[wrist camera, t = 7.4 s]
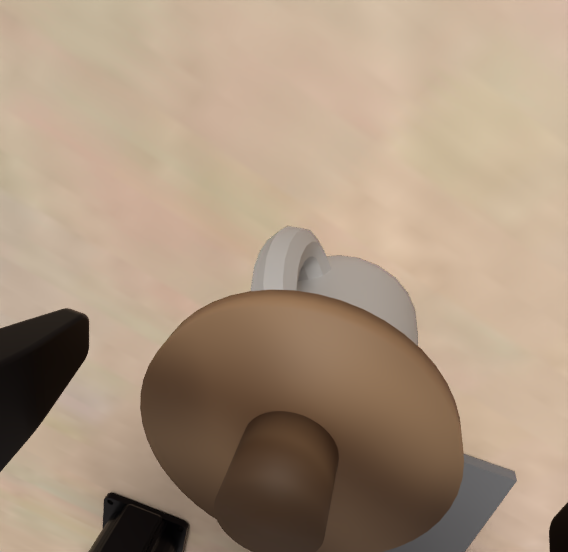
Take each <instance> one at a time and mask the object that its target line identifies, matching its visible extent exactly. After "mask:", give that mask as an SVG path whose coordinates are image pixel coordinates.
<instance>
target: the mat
mask: <svg viewBox="0 0 568 552" xmlns="http://www.w3.org/2000/svg"><path fill="white" fill-rule="evenodd" d="M516 481H517V479H516V475H515V472H514V471H511V470H509V469H506V468H503V467H500V466H497V465H494V464H491V463H489V462H486V461H483V460H480V459H477V458H474V457H471V456H469V455H466V454H464V468H463V478H462V482H461V485H460V488H459V491H458V495H457V496H456V498H455V500H454V502H453V504H452V506H451V507H450V509H449V510H448V511H447V513H446V514H445V515H444V516H443V518H442V519H441V520H440V521H439V522H438V523H437V524H436V525H434V526H433V527H432V528H431V529H430V530H429V531H427V532H426V533H424V534H423V535H421V536H420V537H418V538H416V539H415V540H413V541H411V542H408V543H406V544H404V545H402V546H400V547H397V548H393V549H390V550H387V551H384V552H465V551H466V549H467V548H468V547H469V545H470V544H471V543H472V541H473V540H474V539H475V537H476V536H477V534H478V533H479V532H480V530H481V529H482V528H483V526H484V525H485V524H486V522H487V521H488V519H489V518H490V517H491V515H492V514H493V513H494V511H495V510H496V509H497V507H498V506H499V504H500V503H501V502H502V500H503V499H504V498H505V496H506V495H507V494H508V492H509V491H510V489H511V488H512V487H513V485H514V484H515V483H516Z"/></svg>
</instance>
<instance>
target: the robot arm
mask: <svg viewBox="0 0 568 552" xmlns="http://www.w3.org/2000/svg"><path fill="white" fill-rule="evenodd" d="M88 350H89V319H88V317H87V315H85V314H83V313H81V312H78V311H75V310H72V309H68V308H65V309H61V310H58V311H54V312H51V313H48V314H45V315H42V316H38V317H35V318H32V319H29V320H25V321H22V322H19V323H16V324H13V325H9V326H6V327H3V328H0V472H1V471H2V469H3V468H4V467H5V466H6V465H7V464H8V462H9V461H10V460H11V459H12V458H13V456H14V455H15V454H16V453H17V452H18V451H19V449H20V448H21V447H22V446H23V445H24V444H25V442H26V441H27V440H28V439H29V438H30V436H31V435H32V434H33V433H34V432H35V430H36V429H37V428H38V427H39V425H40V424H41V422H42V421H43V420H44V418H45V417H46V416H47V414H48V413H49V411H50V410H51V408H52V407H53V405H54V404H55V402H56V401H57V400H58V398H59V397H60V395H61V394H62V392H63V391H64V389H65V388H66V386H67V385H68V384H69V382H70V381H71V379H72V378H73V376H74V375H75V373H76V372H77V370H78V369H79V368H80V366H81V365H82V363H83V362H84V360H85V358H86V356H87V354H88ZM187 532H188V524H187V523H186V522H185V521H183V520H180V519H178V518H175V517H173V516H170V515H167V514H165V513H162V512H160V511H157V510H155V509H152V508H149V507H147V506H144V505H142V504H139V503H137V502H134V501H131V500H129V499H126V498H124V497H121V496H119V495H116V494H113V493H108V494H107V496H106V497H105V499H104V513H103V530H102V531H101V533H100V534H99V536H98V538H97V539H96V541H95V542H94V544H93V546H92V547H91V549H90V550H89V552H184V547H185V542H186V537H187ZM549 542H550V552H568V503H567V504H566V505H565V506H564V507H563V508H562V509H561V510H560V511H559V512H558V514H557V515H556V516H555V517H554V518H553V520H552V522H551V525H550V530H549Z"/></svg>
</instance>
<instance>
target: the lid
mask: <svg viewBox="0 0 568 552" xmlns="http://www.w3.org/2000/svg"><path fill="white" fill-rule="evenodd" d="M140 409H141V416H142V423H143V427H144V430H145V434H146V437H147V440H148V442H149V444H150V447H151V449H152V451H153V453H154V455H155V457H156V458H157V460H158V462H159V463H160V465H161V467H162V468H163V469H164V471H165V472H166V473H167V475H168V476H169V477H170V479H171V480H172V481H173V482H174V483H175V484H176V485H177V487H178V488H179V489H180V490H181V491H182V492H183V493H184V494H185V495H186V496H187V497H188V498H190V499H191V500H192V501H193V502H194V503H195V504H196V505H197V506H199V507H200V508H201V509H203V510H204V511H205V512H207V513H208V514H209V515H211V516H212V517H214V518H215V519H217V521H218V523H219V525H220V526H221V527H222V529H223V530H224V531H225V532H226V534H227V535H228V536H230V537H231V538H232V539H233V540H234V541H235V542H237V543H238V544H240V545H241V546H243V547H244V548H246V549H248V550H250V551H252V552H384V551H387V550H390V549H393V548H397V547H400V546H402V545H404V544H406V543H408V542H411V541H413V540H415V539H416V538H418V537H420V536H421V535H423V534H424V533H426V532H427V531H429V530H430V529H431V528H432V527H433V526H434V525H436V524H437V523H438V522H439V521H440V520H441V519H442V518H443V516H444V515H445V514H446V513H447V511H448V510H449V509H450V507H451V506H452V504H453V502H454V500H455V498H456V496H457V495H458V491H459V488H460V485H461V482H462V478H463V468H464V454H463V443H462V434H461V425H460V417H459V414H458V410H457V406H456V403H455V400H454V397H453V395H452V393H451V391H450V389H449V386H448V384H447V382H446V381H445V379H444V378H443V376H442V375H441V373H440V372H439V370H438V368H437V367H436V365H435V364H434V363H433V362H432V361H431V360H430V359H429V357H428V356H427V355H426V354H425V353H424V352H423V351H422V349H421V348H419V347H418V346H417V345H416V344H415V343H414V342H413V341H412V340H410V339H409V338H408V337H407V336H406V335H405V334H404V333H402V332H401V331H399V330H398V329H396V328H395V327H393V326H392V325H391V324H389V323H388V322H386V321H385V320H383V319H381V318H379V317H377V316H375V315H373V314H372V313H370V312H368V311H366V310H364V309H362V308H359V307H357V306H354V305H352V304H349V303H347V302H344V301H342V300H338V299H335V298H331V297H327V296H324V295H320V294H315V293H308V292H302V291H295V290H260V291H249V292H245V293H240V294H236V295H231V296H228V297H225V298H223V299H220V300H217V301H215V302H212V303H210V304H208V305H206V306H205V307H203V308H201V309H199V310H197V311H196V312H194V313H193V314H192V315H191V316H189V317H188V318H187V319H186V320H184V321H183V322H182V323H181V324H180V325H179V326H178V328H177V329H176V330H175V331H174V332H173V333H172V334H171V335H170V337H169V338H168V339H167V340H166V342H165V343H164V344H163V345H162V347H161V348H160V349H159V350H158V352H157V353H156V355H155V356H154V358H153V360H152V361H151V363H150V364H149V367H148V369H147V372H146V374H145V377H144V380H143V385H142V390H141V406H140Z"/></svg>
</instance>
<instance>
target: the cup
mask: <svg viewBox="0 0 568 552" xmlns="http://www.w3.org/2000/svg"><path fill="white" fill-rule="evenodd" d="M260 290H295V291H302V292H308V293H315V294H320V295H324V296H327V297H331V298H335V299H338V300H342V301H344V302H347V303H349V304H352V305H354V306H357V307H359V308H362V309H364V310H366V311H368V312H370V313H372V314H373V315H375V316H377V317H379V318H381V319H383V320H385V321H386V322H388V323H389V324H391V325H392V326H393V327H395V328H396V329H398V330H399V331H401V332H402V333H404V334H405V335H406V336H407V337H408V338H409V339H410V340H412V341H413V342H414V343H415V344H416V345H417V346H418V331H417V322H416V313H415V308H414V306H413V304H412V301H411V299H410V297H409V294H408V292H407V291H406V290H405V289H404V287H403V286H402V285H401V284H400V283H399V281H398V280H397V279H396V278H395V277H394V276H392V275H391V274H390V273H388V272H387V271H385V270H384V269H383V268H381V267H380V266H378V265H376V264H373V263H371V262H368V261H366V260H363V259H361V258H355V257H348V256H342V255H336V256H326V254H325V252H324V250H323V248H322V246H321V244H320V242H319V241H318V239H317V238H316V236H315V235H314V234H313V233H312V232H311V231H310V230H307V229H303V228H297V227H291V226H286V227H285V228H283V229H281V230H280V231H278V232H277V233H276V234H275V235H273V236H272V237H271V238H270V239H268V240H267V242H266V243H265V244H264V246H263V247H262V249H261V250H260V252H259V255H258V258H257V260H256V263H255V266H254V271H253V278H252V285H251V291H260Z"/></svg>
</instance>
